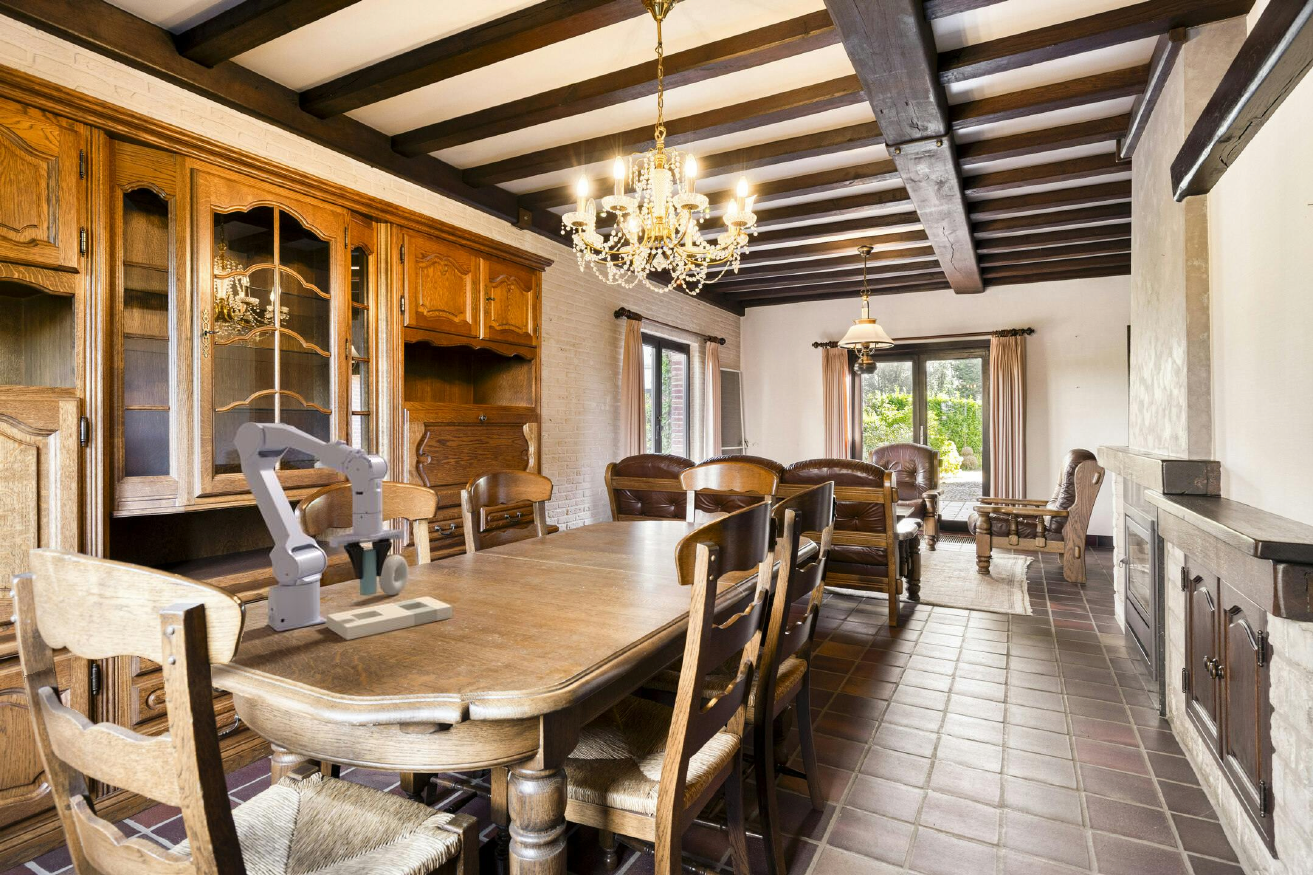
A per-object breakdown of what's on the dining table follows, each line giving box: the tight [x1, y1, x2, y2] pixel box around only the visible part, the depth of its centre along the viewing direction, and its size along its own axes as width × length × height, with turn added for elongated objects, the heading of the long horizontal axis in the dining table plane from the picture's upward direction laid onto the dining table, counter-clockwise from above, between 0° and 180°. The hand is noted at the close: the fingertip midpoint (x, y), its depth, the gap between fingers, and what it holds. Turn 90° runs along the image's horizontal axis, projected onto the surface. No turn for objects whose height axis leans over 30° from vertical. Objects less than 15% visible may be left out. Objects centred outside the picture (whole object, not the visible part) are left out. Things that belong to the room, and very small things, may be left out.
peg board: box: [326, 596, 453, 641], centre depth 140 cm, size 22×12×2 cm, turn 134°
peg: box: [359, 548, 378, 596], centre depth 137 cm, size 3×3×9 cm
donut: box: [378, 554, 409, 596], centre depth 164 cm, size 10×4×10 cm, turn 170°
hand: (368, 577), depth 137 cm, fingers closed on peg, 3 cm apart
